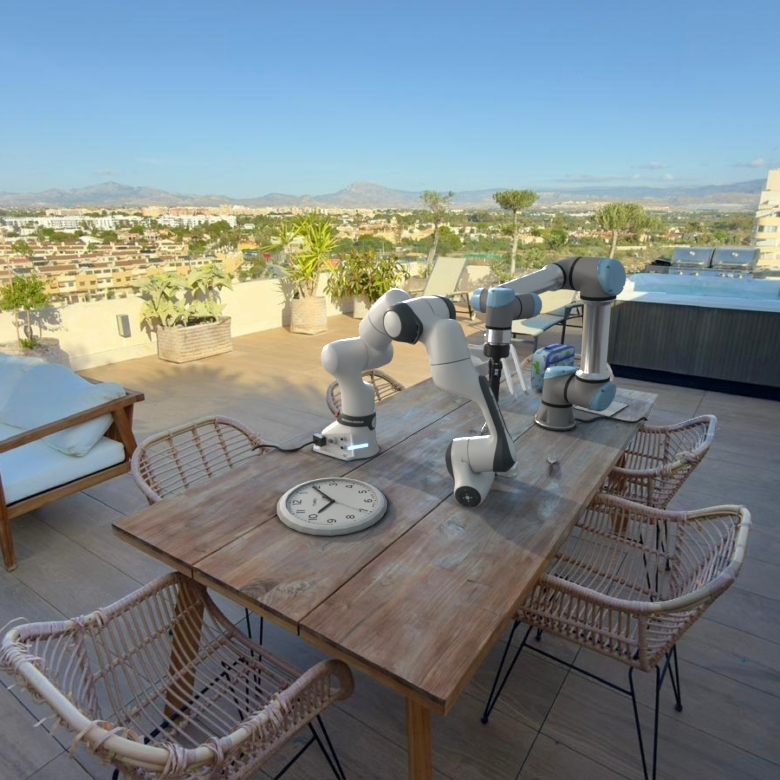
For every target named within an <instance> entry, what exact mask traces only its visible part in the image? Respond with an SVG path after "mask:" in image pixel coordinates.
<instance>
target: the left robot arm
mask: <svg viewBox="0 0 780 780" xmlns="http://www.w3.org/2000/svg"><path fill="white" fill-rule="evenodd" d="M456 319H457V310H456V306H455V305H454V303H453V301H452V300H451V299H450V298H448V297H447V296H444V295H438V294H437V295H436V294H433V295H428V296H418V297H415V298H412V297H411V296H410V294H409V293H408V292H406V291H405V290H403V289H400V288H391V289H389V290H387V291H386V292H385V293H383V294H382V295H381V296H380V297H379V298H378V299H377V300H376V301H375V302H374V303H373V304H372V305H371V306H370V308H369V310H368V311H367V312H366V313H365V315H364V316H363V318H362V319H361V321H359V324H358V335H359V336H356V337H350V338H344V339H343V338H342V339H337V340H334V341H331V342H329V343H327V344H325V345H324V346H323V347H322V350H321V353H320V363H321V365H322V367H323V369H324V370H325V371H326V372H327V373H328V374H330V375H331V376H332V377H333V378H334V379H335V381H336V382H337V384H338V386H339V390H340V391H339V392H340V402H341V407H340V409H339V410H337V411H336V413H334V418H336V419H335V420H334V421H333V422H331V423H330V424H328V425H327V426H325V428H323V429H322V431H321V433H319V432H318V433H317V432H316V433H314V434H312V440H310V441H309V442H306V443H304V444H302V445H301V446H299V447H296V448H295V447H294V448H291V449H287V448H286V449H285V448H281V447H279V446H277V445H273V444H259V445H256V446H254V447H252V449H250V451H251V452H254V451H256V450H257V449H259V448H273V449H277V450H278V451H279V452H283V453H291V452H297V451H300V450H302V449H303V448H305V447H307V446H309V445H312V444H313V448H312V450H313V452H315V453H319V454H322V455H325V456H329V457H333V458H335V459H339V460H343V461H347V462H351V461H353V460H359V459H367V458H371V457H374V456H375V455H377V454H378V453H379V452H380V447H379V444H378V438H377V431H376V427H377V411H376V390H375V388H374V387H373V386H372V384H371V383H369V382H367V381H366V380H363V375H362V373H363V372H365V371H370V370H376V369H379V368H381V367H385V366H386V365H388V364H390V363H391V362H392V360H393V358H394V353H395V351H394V344H393V343H392V342H393V341H395V342H399V343H406V344H409V345H413V346H415V345H416V344H417V343H418V342H420V343H421V344H423V346H424V347H425V349H426V353H427V360H428V365H429V370H430V374H431V378H432V381H433V383H434V385H435V386H436V387H437V388H438V389H439V390H440V391H442V392H444V393H446V394H448V395H451V396H456V397H460V398H465V399H467V400H470V401H472V402H474V403H476V404H477V405H478V406H479V408H480V409H481V412H482V414H483V418H484V417H485V418H484V419H485V422H486V423H487V425H488V428H489V431H490V435H486V436H481V435H478V436H477V435H475V436H465V437H456V438H453V439H452V440H451V441H450V442H449V444H448V445H447V447H446V451H445V458H444V459H445V460H444V461H445V467H446V469H447V472H448V474H449V475H450V478H452V480H453V481H454V488H453V496H454V499H455V501H456V502H457V503H458V504H459V505H461V506H463V507H464V508H477V507H479V506H480V505H482V503H484V501H485V500H486V498H487V497H488V495H489V492H490V490H491V487H492V484H493V482H494V481H495V478H496V479H502V480H508V481H509V480H513V479H516V478H518V475H519V470H520V461H518V459H517V457H518V454H517V447H516V445H515V442H514V440H513V439H512V436H511V434H510V431H509V430H508V427H507V425H506V421H505V419H504V416H503V414H502V410H501V407H500V406H499V401H498V402H497V400H496V397H495V394H494V392H493V389H492V387H491V385H490V383H489V378H487V377H486V376H483V375H480V374H479V373H478V372H477V370H476V369H475V367H474V366H473V363H472V361H471V356H470V351H469V347H470V346H469V344H468V341H467V337H466V333H465V331H464V329H463V326H462V324H461V323H460V322H459V321H457V320H456ZM468 346H469V347H468Z"/></svg>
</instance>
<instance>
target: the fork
mask: <svg viewBox="0 0 780 780" xmlns="http://www.w3.org/2000/svg"><path fill="white" fill-rule="evenodd" d="M557 458H558V452H556V454H555V451H554V452H553V454H551V453H549V454H548V460H547V461H548V462H549V463H550V465H549V467H548V472H549V473H548V474H549V477H551V474H552V472H553V469H554V465H553V464H554V463H556V462H557Z"/></svg>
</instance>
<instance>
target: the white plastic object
mask: <svg viewBox="0 0 780 780" xmlns="http://www.w3.org/2000/svg"><path fill="white" fill-rule="evenodd" d="M509 344H510V343H509ZM468 347H469V351H470V356H471V361H472V363H473V366H474V367H475V369H476V370H477V372H478V373H479V374H480V375H483V376H485V377H486V376H487V375H489V374H488V370H489V367H488V361H490V358H491V357H486V356H484V354H483V349H484V343H483V344H479V345H473V346H469V345H468ZM510 360H513V363H514V366H515V369H516V372H517V376H518V380H519V382H520V385H521V389H522V391H523V393H524V395H525V396H526V397H528V396H531V395H530V390H529V388H528V387H529V386H528V384H527V381H526V378H525V375H524V371H523V369H522V368H523V367H522V366H521V362H520V359H519V355H518V352H517V349H516V347H515V346H514V345H513V343H511V344H510V353H509V356H508V357H507V358H501V359H500V361H502V364H503V367H502V370H503V373H504V376H505V380H506V383H507V386H508V390H509V393H510V394H511V395H512V397H513V398H514V399H515V400H517V392H516V391H517V390H516V388H515V385H514V381H513V378H512V375H511V371H510V369H509V365H508V361H510Z"/></svg>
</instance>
